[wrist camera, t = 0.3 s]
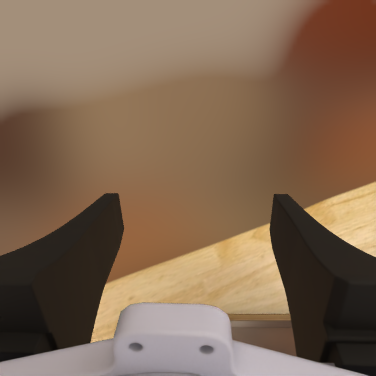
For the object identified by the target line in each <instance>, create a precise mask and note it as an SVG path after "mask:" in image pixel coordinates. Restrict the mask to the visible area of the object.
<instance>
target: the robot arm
mask: <svg viewBox="0 0 376 376" xmlns="http://www.w3.org/2000/svg"><path fill="white" fill-rule="evenodd" d="M123 231H124V225H123V220H122V213H121V207H120V201H119V195H118V193H114V194H113V193H111V194H110V193H106V194H104V195H103V196H102V197H100V198H99V199H98V200H96V201H95V202H94V203H93V204H91V205H90V206H89V207H88V208H86V209H85V210H84V211H83V212H81V213H80V214H79V215H77V216H76V217H75V218H73V219H72V220H70V221H69V222H68V223H66V224H65V225H63V226H62V227H60V228H59V229H57V230H55V231H54V232H52V233H50V234H49V235H47V236H45V237H43V238H41V239H39V240H37V241H35V242H33V243H31V244H29V245H27V246H24V247H23V248H20V249H17V250H15V251H12V252H10V253H7V254H4V255H2V256H0V376H376V257H374V256H371V255H369V254H367V253H365V252H363V251H361V250H360V249H358V248H356V247H354V246H352V245H350V244H349V243H347V242H345V241H344V240H342V239H341V238H339V237H338V236H336V235H334V234H333V233H332V232H330V231H329V230H327V229H326V228H325V227H324V226H322V225H321V224H320V223H318V222H317V221H316V220H315V219H314V218H313V217H311V216H310V215H309V214H308V213H307V212H306V211H305V210H304V209H303V208H302V207H301V206H299V205H298V204H297V203H296V202H295V201H294V200H293V199H292V198H291V197H290V196H289V195H288V194H274V198H273V207H272V215H271V223H270V236H271V243H272V249H273V252H274V255H275V259H276V262H277V265H278V269H279V272H280V275H281V279H282V282H283V285H284V288H285V292H286V296H287V301H288V307H289V312H290V317H291V323H292V329H293V335H294V342H295V348H296V355H297V357H296V356H292V355H288V354H285V353H281V352H277V351H273V350H269V349H266V348H262V347H258V346H254V345H250V344H247V343H243V342H239V341H235V340H232V333H231V322H230V320H229V317H228V314H226V313H225V312H224V311H222V310H221V309H219V308H218V307H216V306H211V305H206V304H183V303H145V302H143V303H137V304H131V305H129V306H127V307H126V308H125V309H123V310H122V311H121V313H120V316H119V320H118V324H117V327H116V331H115V334H114V338H112V339H107V340H102V341H98V342H93V343H90V342H91V337H92V332H93V328H94V324H95V320H96V316H97V311H98V308H99V304H100V300H101V296H102V293H103V290H104V287H105V284H106V281H107V279H108V276H109V273H110V271H111V268H112V266H113V263H114V261H115V258H116V255H117V253H118V250H119V248H120V244H121V240H122V235H123Z"/></svg>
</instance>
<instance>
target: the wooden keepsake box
mask: <svg viewBox="0 0 376 376" xmlns="http://www.w3.org/2000/svg"><path fill="white" fill-rule="evenodd" d="M228 317H229V320H230V322H231V333H232V340H235V341H239V342H243V343H247V344H250V345H254V346H258V347H262V348H266V349H269V350H273V351H277V352H281V353H285V354H288V355H292V356H296V357H297V355H296V348H295V342H294V335H293V329H292V323H291V317H290V314H228Z"/></svg>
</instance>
